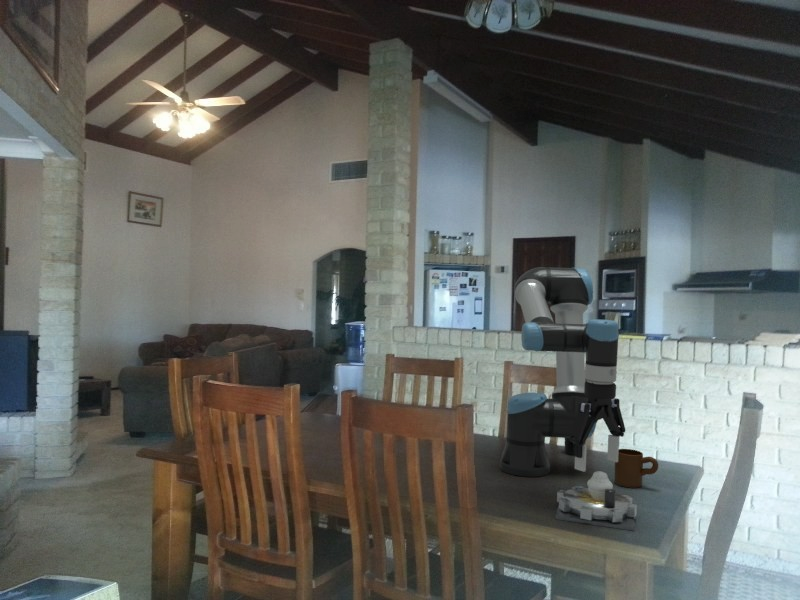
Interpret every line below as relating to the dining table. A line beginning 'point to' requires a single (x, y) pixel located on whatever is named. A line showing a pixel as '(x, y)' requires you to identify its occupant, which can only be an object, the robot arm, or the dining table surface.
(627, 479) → the mug
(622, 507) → the sprocket
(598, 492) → the muffin
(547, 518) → the dining table surface
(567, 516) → the base plate
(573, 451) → the supplement bottle
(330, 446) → the dining table surface
